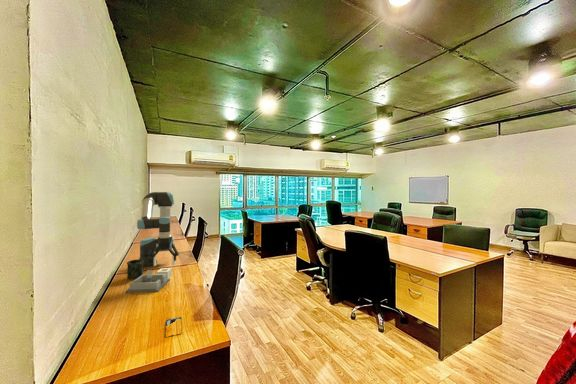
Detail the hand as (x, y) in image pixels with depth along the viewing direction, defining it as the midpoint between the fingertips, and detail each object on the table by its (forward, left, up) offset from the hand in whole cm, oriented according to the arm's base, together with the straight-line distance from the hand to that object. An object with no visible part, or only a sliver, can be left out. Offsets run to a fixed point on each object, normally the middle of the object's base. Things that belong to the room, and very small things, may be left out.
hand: (164, 265), depth 179 cm
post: (+15, -4, -8) cm, 17 cm away
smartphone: (+68, +31, -10) cm, 75 cm away
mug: (-2, -22, -10) cm, 24 cm away
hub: (-3, 0, -10) cm, 10 cm away
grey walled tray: (+15, -4, -10) cm, 18 cm away
